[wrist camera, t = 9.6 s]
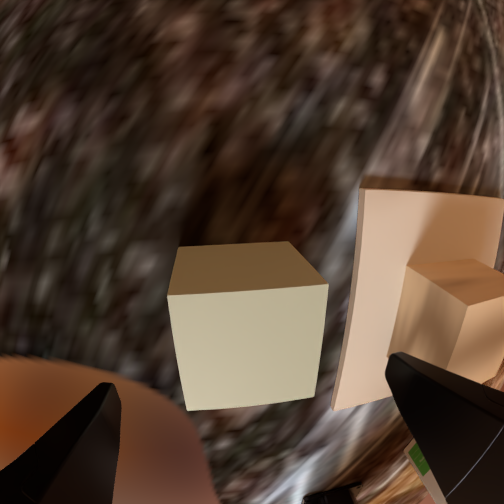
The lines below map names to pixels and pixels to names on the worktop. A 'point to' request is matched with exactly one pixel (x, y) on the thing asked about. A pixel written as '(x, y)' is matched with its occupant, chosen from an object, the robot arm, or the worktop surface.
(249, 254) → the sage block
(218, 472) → the worktop surface
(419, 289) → the maple block
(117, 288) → the worktop surface
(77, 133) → the worktop surface
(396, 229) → the baseplate
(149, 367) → the worktop surface
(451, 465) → the robot arm
